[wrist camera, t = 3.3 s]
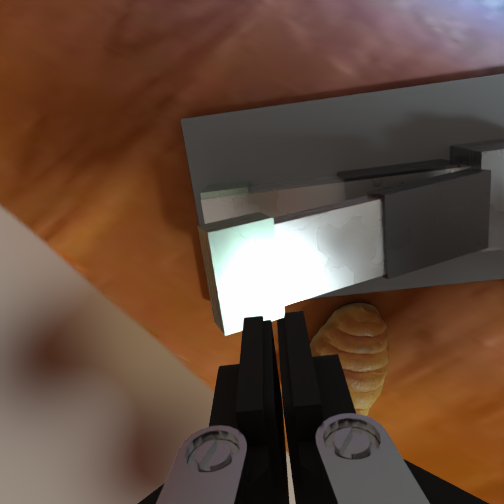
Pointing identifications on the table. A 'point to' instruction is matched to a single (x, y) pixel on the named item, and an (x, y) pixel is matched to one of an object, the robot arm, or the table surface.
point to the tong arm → (341, 244)
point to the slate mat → (353, 150)
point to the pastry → (356, 350)
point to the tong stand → (359, 187)
